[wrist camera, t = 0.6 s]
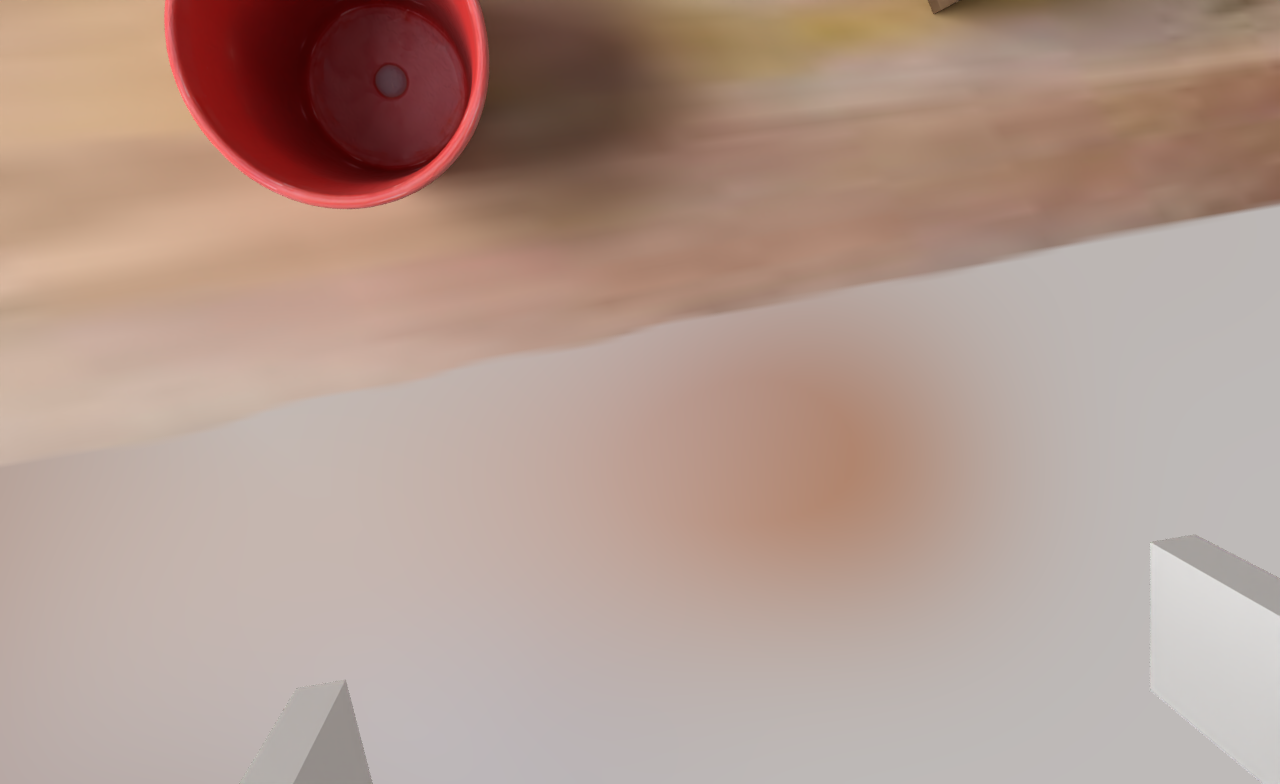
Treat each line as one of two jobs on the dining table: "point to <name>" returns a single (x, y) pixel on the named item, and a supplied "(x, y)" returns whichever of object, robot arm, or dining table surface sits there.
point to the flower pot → (333, 90)
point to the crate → (940, 4)
